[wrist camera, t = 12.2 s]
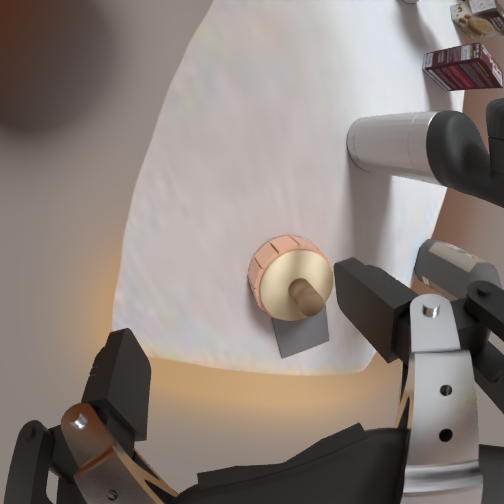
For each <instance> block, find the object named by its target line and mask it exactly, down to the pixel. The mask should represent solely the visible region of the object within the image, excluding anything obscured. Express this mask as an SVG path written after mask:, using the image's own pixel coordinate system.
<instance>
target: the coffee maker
mask: <svg viewBox="0 0 504 504" xmlns="http://www.w3.org/2000/svg"><path fill="white" fill-rule="evenodd" d="M403 1H404V2H405V3H413V4H415V3H416V2H417V1H419V0H403ZM463 1H465V0H463Z"/></svg>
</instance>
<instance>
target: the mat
mask: <svg viewBox="0 0 504 504" xmlns="http://www.w3.org/2000/svg"><path fill="white" fill-rule="evenodd" d="M272 322H273V326H274V330H275V333H276V337H277V341H278V345H279V349H280V353H281V357H282V358H285V357H287V356H290V355H293V354H296V353H298V352H301V351H304V350H306V349H309V348H311V347H314V346H317V345H319V344H322V343H324V342H326V341H329V334H328V324H327V315H326V306H325V303H324V306H323V308H322V310H321V311H320V312H319V313H318V314H316V315H314V316H310V317H309V316H308V317H306V318H304V319H300V320H296V321H285V320H281V319H275V318H274V317H273V318H272Z"/></svg>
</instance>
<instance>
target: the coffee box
mask: <svg viewBox="0 0 504 504" xmlns="http://www.w3.org/2000/svg"><path fill="white" fill-rule="evenodd" d="M451 14H452V20H453V21H454V22H455V23H456V24H457V25H458V26H459V27H460V28H461V29H462V30H463V31H464V32H465V33H466V34H467V35H468V36H469V37H470V39H477V38H484V37H491V36H501V35H504V9H503V8H502V6H501V5H500V4H499V3H498V1H497V0H471V1H467V2H463V3H459V4H456V5H452V6H451Z"/></svg>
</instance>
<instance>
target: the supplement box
mask: <svg viewBox="0 0 504 504" xmlns="http://www.w3.org/2000/svg"><path fill="white" fill-rule="evenodd" d="M422 69H423V70H424V71H425V72H426V73H427V74H428V75H429V76H430V77H431V78H433V79H434V80H435V81H436V82H437V83H438V84H439V85H440V86H441V87H442V88H443V89H444V90H445V91H456V90H468V89H485V88H503V74H502V70H501V69H500V67H499V66H498V64H497V63H496V61H495V60H494V59H493V57H492V56H491V55H490V53H489V52H488V51H487V49H486V48H485V47H484V45H483V44H482V43H481V42H480V43H473V44H467V45H462V46H457V47H453V48H448V49H444V50H439V51H435V52H431V53H427V54H424V60H423V68H422Z"/></svg>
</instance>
